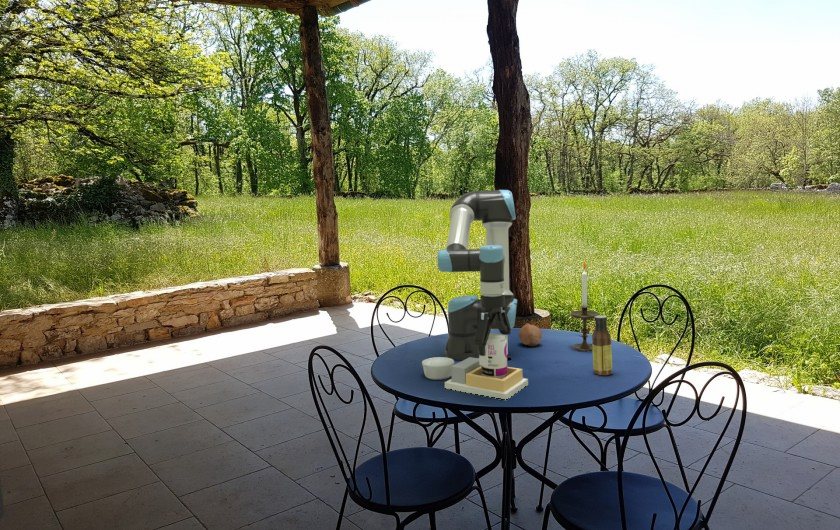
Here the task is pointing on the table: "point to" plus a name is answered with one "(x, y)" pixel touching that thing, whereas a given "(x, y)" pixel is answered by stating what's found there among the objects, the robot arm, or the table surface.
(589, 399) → the table surface
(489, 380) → the tan-rimmed shallow tray
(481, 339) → the robot arm
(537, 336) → the onion
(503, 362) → the supplement can
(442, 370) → the ramekin
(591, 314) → the candlestick
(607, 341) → the sauce bottle
